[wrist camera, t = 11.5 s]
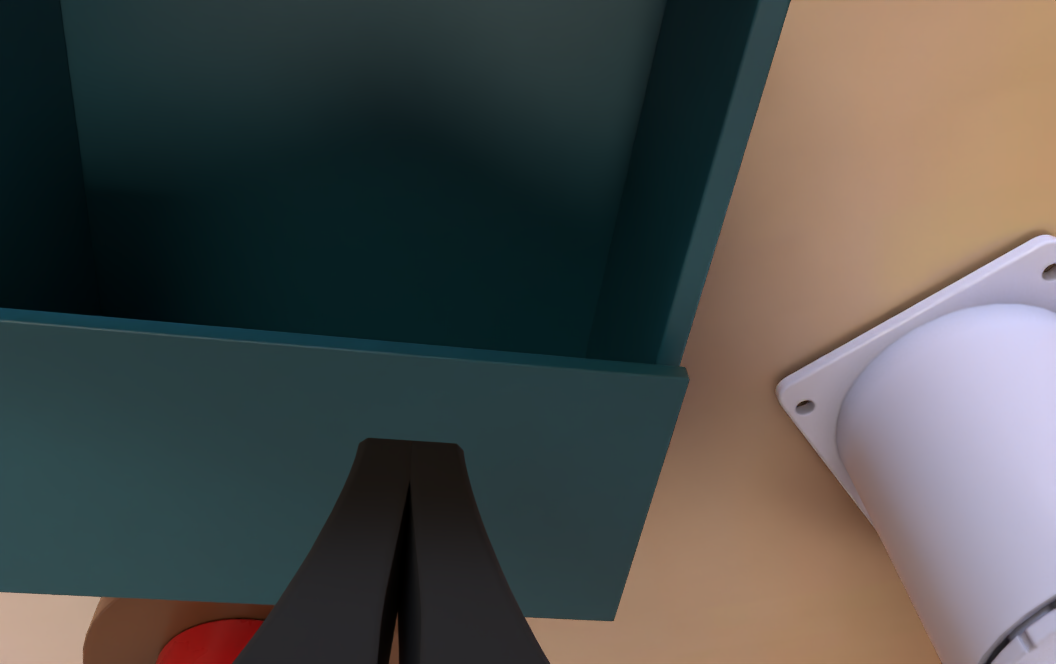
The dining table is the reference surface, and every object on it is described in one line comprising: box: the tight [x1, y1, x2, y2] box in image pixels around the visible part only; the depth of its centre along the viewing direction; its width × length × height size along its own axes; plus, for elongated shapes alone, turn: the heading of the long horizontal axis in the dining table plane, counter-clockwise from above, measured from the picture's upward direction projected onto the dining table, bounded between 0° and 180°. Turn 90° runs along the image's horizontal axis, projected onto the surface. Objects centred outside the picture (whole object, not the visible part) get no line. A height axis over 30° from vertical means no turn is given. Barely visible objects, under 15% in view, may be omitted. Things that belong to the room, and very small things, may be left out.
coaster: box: [83, 597, 399, 664], centre depth 27 cm, size 9×9×4 cm
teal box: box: [0, 0, 791, 621], centre depth 18 cm, size 14×13×7 cm
